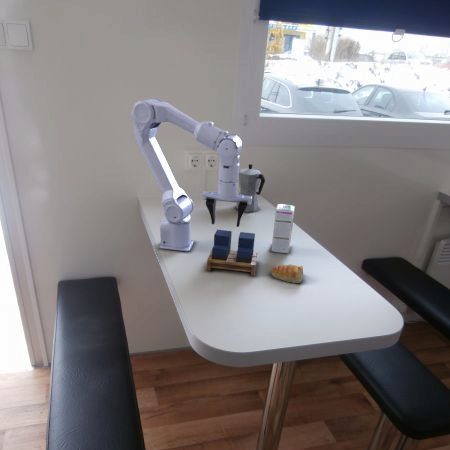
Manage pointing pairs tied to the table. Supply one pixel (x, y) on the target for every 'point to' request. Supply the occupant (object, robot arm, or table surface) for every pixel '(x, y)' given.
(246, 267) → the shoe rack
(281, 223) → the syrup box
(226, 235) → the blue block
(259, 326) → the table surface
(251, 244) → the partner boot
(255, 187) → the coffeepot
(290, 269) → the pastry
